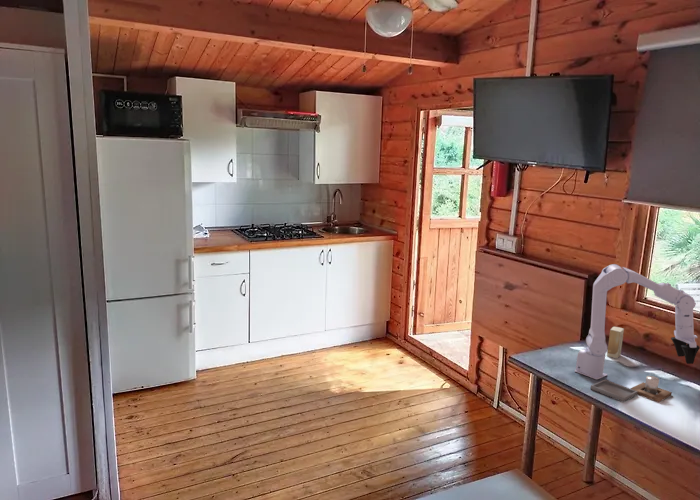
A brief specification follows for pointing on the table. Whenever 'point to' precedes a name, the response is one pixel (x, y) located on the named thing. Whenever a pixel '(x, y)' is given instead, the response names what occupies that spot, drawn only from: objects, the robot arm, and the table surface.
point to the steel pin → (651, 384)
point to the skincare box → (615, 342)
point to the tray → (614, 390)
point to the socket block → (658, 397)
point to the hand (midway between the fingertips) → (685, 359)
